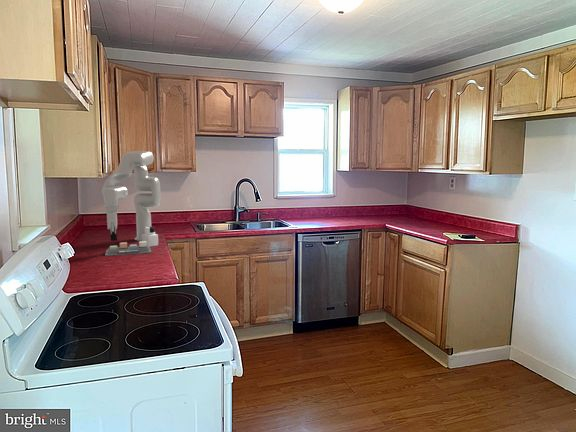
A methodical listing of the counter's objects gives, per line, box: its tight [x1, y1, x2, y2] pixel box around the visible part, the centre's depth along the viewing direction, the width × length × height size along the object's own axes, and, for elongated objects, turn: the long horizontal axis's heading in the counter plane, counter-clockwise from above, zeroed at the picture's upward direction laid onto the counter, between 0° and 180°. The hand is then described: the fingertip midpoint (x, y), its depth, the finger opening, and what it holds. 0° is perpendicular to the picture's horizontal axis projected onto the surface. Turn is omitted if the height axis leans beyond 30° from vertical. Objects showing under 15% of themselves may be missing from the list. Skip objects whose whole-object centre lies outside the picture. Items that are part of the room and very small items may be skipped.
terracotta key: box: [119, 241, 128, 248], centre depth 245 cm, size 4×4×2 cm
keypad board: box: [104, 245, 153, 257], centre depth 246 cm, size 14×25×2 cm, turn 111°
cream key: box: [138, 241, 147, 247], centre depth 249 cm, size 4×4×2 cm
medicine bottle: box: [142, 226, 159, 248], centre depth 264 cm, size 7×7×12 cm
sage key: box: [109, 245, 118, 250], centre depth 243 cm, size 4×4×2 cm
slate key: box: [129, 244, 138, 249], centre depth 247 cm, size 4×4×2 cm
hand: (114, 240), depth 243 cm, fingers closed
